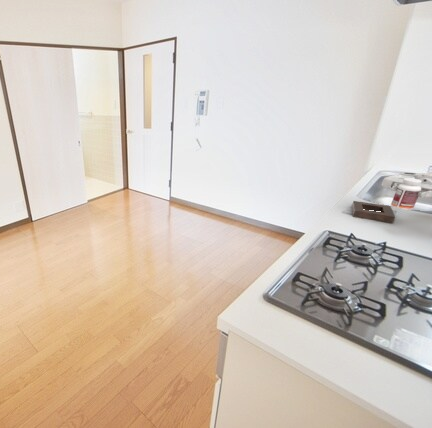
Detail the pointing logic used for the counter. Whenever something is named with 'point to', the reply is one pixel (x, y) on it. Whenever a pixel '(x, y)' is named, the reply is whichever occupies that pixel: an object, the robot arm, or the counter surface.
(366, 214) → the holder
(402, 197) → the pill bottle
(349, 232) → the counter surface
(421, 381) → the counter surface
